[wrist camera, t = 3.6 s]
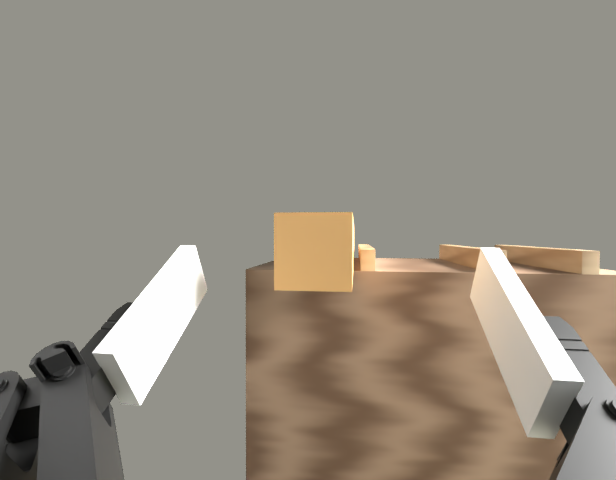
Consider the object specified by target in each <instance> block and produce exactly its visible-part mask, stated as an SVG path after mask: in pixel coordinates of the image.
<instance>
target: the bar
mask: <svg viewBox="0 0 616 480" xmlns="http://www.w3.org/2000/svg"><path fill="white" fill-rule="evenodd" d="M353 268H354V221H353V213H352V212H308V213H307V212H299V213H274V290H282V291H326V292H352V287H353Z"/></svg>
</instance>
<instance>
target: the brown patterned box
mask: <svg viewBox="0 0 616 480" xmlns="http://www.w3.org/2000/svg"><path fill="white" fill-rule="evenodd" d="M495 248H500V249H501V251H502V252H503V254H504V256H505V257H506V259H507V260H508V262H509V263H510V265H511V267H512V268H513V270H514V271H515V273H516V274H517V276H518V278H519V279H520V281H521V282H522V284H523V285H524V287H525V289H526V290H527V292H528V293H529V295H530V296H531V298H532V300H533V301H534V303H535V304H536V306H537V307H538V309H539V311H540V312H541V314H542V315H543V316H559V317H560V318H562V319H563V320H564V321H566V322H567V323H568V324H569V325H571V326H572V327H573V328H574V329H575V331H576V332H577V334H578V335H579V336H580V338H581V339H582V342H584V343H585V345H586V346H587V348H588V349H589V352H591V353H592V355H593V356H594V357H595V359H596V360H597V362H598V363H599V364H600V366H601V367H602V369H603V370H604V371H605V373H606V374H607V376H608V377H609V378H610V380H611V381H612V383H613V384H614V385H615V387H616V271H613V270H605V269H600V251H591V250H576V249H560V248H544V247H528V246H513V245H495ZM480 249H481V248H477V247H467V246H457V245H440V253H439V254H440V255H439V256H440V257H439V259H411V258H407V259H406V258H375V249H374V248H372V247H371V246H370V245H368V244H359V258H354V268H353V287H352V292H326V291H282V290H274V261H271V262H268V263H265V264H262V265H259V266H255V267H252V268H249V269H246V480H549V479H550V476H551V474H552V472H553V470H554V468H555V465H556V463H557V458H558V456H559V455H560V453H561V451H562V449H563V447H564V446H565V444H566V442H567V441H566V439H565V437H564V435H563V433H562V431H561V429H559V431H558V433H557V435H556V437H555V439H545V438H533V437H527V435H526V433H525V430H524V428H523V425H522V423H521V420H520V418H519V416H518V413H517V411H516V408H515V406H514V403H513V401H512V398H511V396H510V394H509V391H508V389H507V386H506V384H505V381H504V379H503V376H502V374H501V372H500V369H499V367H498V364H497V362H496V359H495V357H494V354H493V352H492V350H491V347H490V345H489V342H488V340H487V337H486V335H485V332H484V330H483V328H482V325H481V323H480V320H479V318H478V315H477V313H476V310H475V308H474V306H473V303H472V301H471V298H470V294H471V289H472V285H473V280H474V276H475V271H476V267H477V262H478V258H479V253H480Z"/></svg>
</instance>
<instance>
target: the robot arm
mask: <svg viewBox="0 0 616 480" xmlns="http://www.w3.org/2000/svg"><path fill="white" fill-rule="evenodd" d="M207 290H208V289H207V285H206V282H205V278H204V275H203V271H202V268H201V264H200V260H199V257H198V253H197V250H196V246H194V245H181V246H180V247H179V248H178V249H177V250H176V252H175V253H174V254H173V255H172V256H171V258H170V259H169V260H168V261H167V262H166V264H165V265H164V266H163V267H162V269H161V270H160V271H159V272H158V273H157V275H156V276H155V277H154V278H153V279H152V281H151V282H150V283H149V284H148V286H147V287H146V288H145V289H144V290H143V292H142V293H141V294H140V295H139V297H138V298H137V299H136V300H135V301H134V303H126V304H124V305H123V306H122V307H120V308H119V309H117V310H116V311H115V312H114V313H113V314H112V316H111V317H110V318H109V319H108V321H107V322H106V323H105V324H104V325H103V326H102V327H101V330H99V331H98V332H97V333H96V334H95V335H94V336H93V338H92V339H91V340H90V341H89V342H88V343H87V344H86V346H85V347H84V348H83V349H82V350H81V351H80V353H79V351H78V350H77V348H76V346H75V345H74V343H73V342H70V341H60V342H57V343H54V344H51V345H49V346H47V347H45V348H44V349H42V350H41V351H40V352H38V353H37V354H36V355H35V356H34V357H33V358H32V360H31V362H30V364H29V367H30V368H31V370H32V371H33V372H34V374H35V375H36V376H37V377H33V378H29V379H24V380H23V379H22V378H21V377H20V375H19V374H18V373H17V372H15V371H7V372H2V373H0V480H124V475H123V469H122V463H121V457H120V451H119V445H118V439H117V432H116V426H115V420H114V414H113V408H112V406H111V405H110V402H111V400H112V399H113V397H114V396H115V394H116V395H117V397H118V399H119V400H120V402H121V404H129V405H141V403H142V402H143V400H144V398H145V397H146V395H147V393H148V391H149V390H150V388H151V386H152V384H153V383H154V381H155V379H156V378H157V376H158V374H159V373H160V371H161V369H162V367H163V366H164V364H165V362H166V361H167V359H168V357H169V355H170V354H171V352H172V350H173V348H174V347H175V345H176V343H177V342H178V340H179V338H180V336H181V335H182V333H183V331H184V329H185V328H186V326H187V324H188V323H189V321H190V319H191V317H192V316H193V314H194V312H195V311H196V309H197V307H198V305H199V304H200V302H201V300H202V299H203V297H204V295H205V293H206V292H207ZM470 298H471V301H472V303H473V306H474V308H475V310H476V313H477V315H478V318H479V320H480V323H481V325H482V328H483V330H484V332H485V335H486V337H487V340H488V342H489V345H490V347H491V350H492V352H493V354H494V357H495V359H496V362H497V364H498V367H499V369H500V372H501V374H502V376H503V379H504V381H505V384H506V386H507V389H508V391H509V394H510V396H511V398H512V401H513V403H514V406H515V408H516V411H517V413H518V416H519V418H520V420H521V423H522V425H523V428H524V430H525V433H526V435H527V437H533V438H545V439H555V437H556V435H557V433H558V431H559V429H561V431H562V433H563V435H564V437H565V439H566V441H567V442H566V444H565V446H564V447H563V449H562V451H561V453H560V455H559V456H558V458H557V463H556V465H555V468H554V470H553V472H552V474H551V476H550V479H549V480H616V387H615V385H614V384H613V383H612V381H611V380H610V378H609V377H608V376H607V374H606V373H605V371H604V370H603V369H602V367H601V366H600V364H599V363H598V362H597V360H596V359H595V357H594V356H593V355H592V353H591V352H589V349H588V348H587V346H586V345H585V343H584V342H582V339H581V338H580V336H579V335H578V334H577V332H576V331H575V329H574V328H573V327H572V326H571V325H569V324H568V323H567V322H566V321H564V320H563V319H562V318H560V317H559V316H543V315H542V314H541V312H540V311H539V309H538V307H537V306H536V304H535V303H534V301H533V300H532V298H531V296H530V295H529V293H528V292H527V290H526V289H525V287H524V285H523V284H522V282H521V281H520V279H519V278H518V276H517V274H516V273H515V271H514V270H513V268H512V267H511V265H510V263H509V262H508V260H507V259H506V257H505V256H504V254H503V252H502V251H501V249H500V248H481V249H480V253H479V258H478V262H477V267H476V271H475V276H474V280H473V285H472V289H471V294H470Z"/></svg>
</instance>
